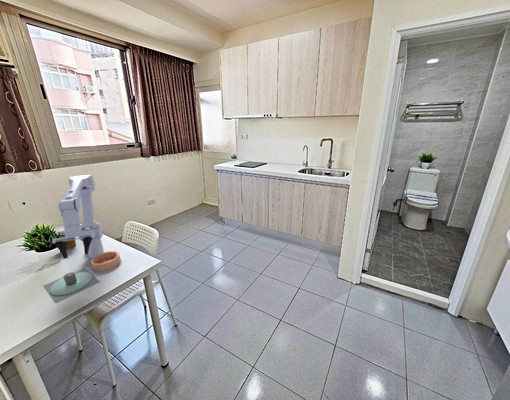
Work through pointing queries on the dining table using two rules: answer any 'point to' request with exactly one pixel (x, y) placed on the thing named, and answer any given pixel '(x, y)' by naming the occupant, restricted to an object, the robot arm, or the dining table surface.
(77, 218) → the robot arm
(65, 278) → the lid
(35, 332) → the dining table surface
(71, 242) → the disposable coffee cup
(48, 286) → the mat
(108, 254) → the bowl
